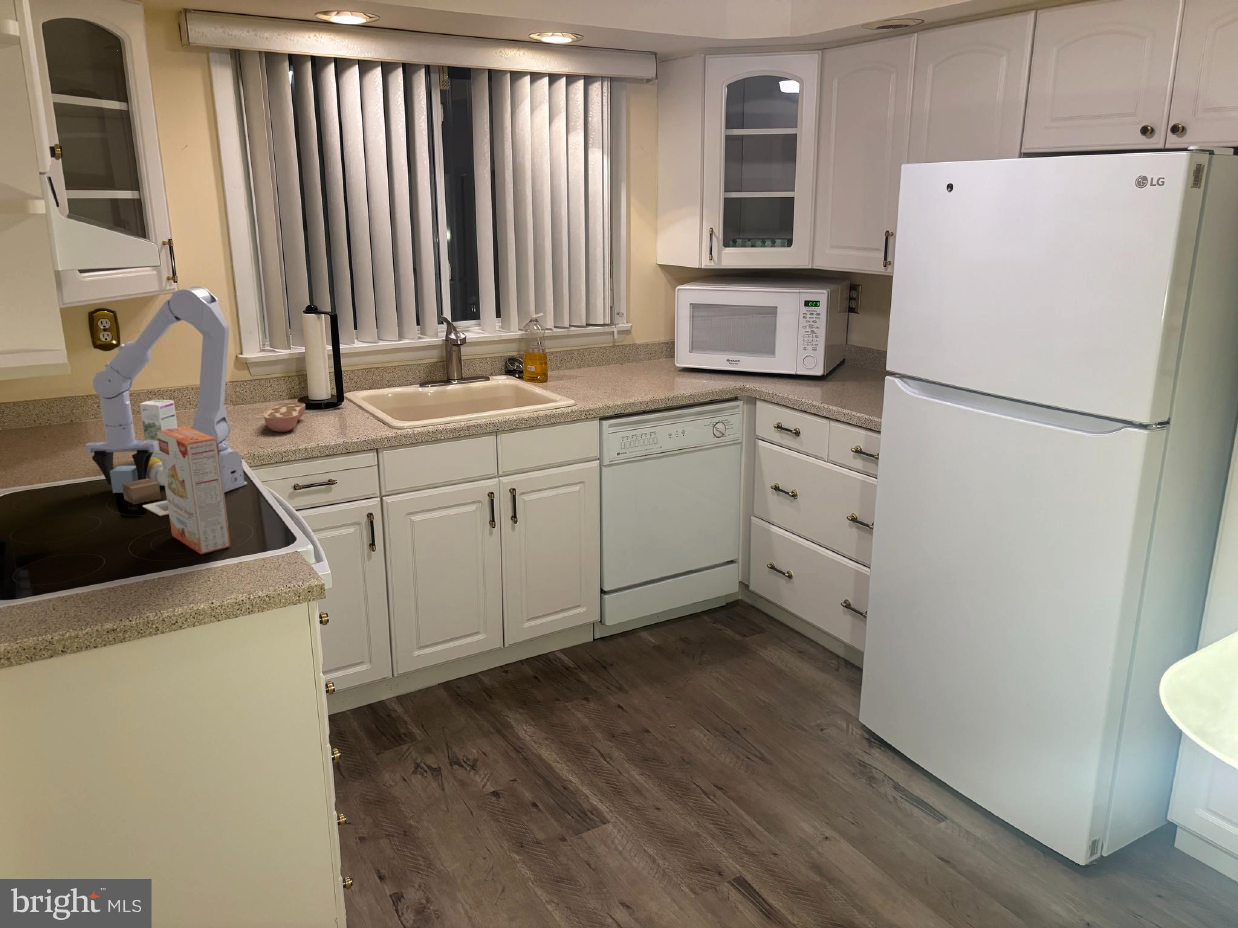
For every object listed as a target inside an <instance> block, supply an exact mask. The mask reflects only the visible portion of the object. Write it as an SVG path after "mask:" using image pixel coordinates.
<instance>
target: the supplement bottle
mask: <svg viewBox="0 0 1238 928" xmlns="http://www.w3.org/2000/svg"><path fill="white" fill-rule="evenodd" d="M148 478H149V479H151V480H153V481H155V482H158V483H159V487H165V483H164V476H163V468H162V461H161V460H160V459H158V458H153V457H152V458H151V459H150V461H149V465H148V468H147V474H146V479H148Z"/></svg>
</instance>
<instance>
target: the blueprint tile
mask: <svg viewBox="0 0 1238 928" xmlns="http://www.w3.org/2000/svg"><path fill="white" fill-rule="evenodd" d="M142 507H143V508H144V509H146V510H148V511H150V512H152V513H154V514H156V515H158V516H160V517H161V516H165V515H169V510H168V503H167V499H165V500H163V501H157V502H153V503H148V504H143V505H142Z"/></svg>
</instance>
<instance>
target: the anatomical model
mask: <svg viewBox="0 0 1238 928" xmlns="http://www.w3.org/2000/svg"><path fill="white" fill-rule="evenodd" d="M305 411H306V404H305V403H304V402H291V401H290V402H282V403H277V404H274V405H271V406H270V407H268V408H267V409H266V410H265V411H264V413H263V419H264V422H265V424H266V426H268V428H269V429H270V430H272V431H273V432H277V433H287V432H288V431H291V430H292V429H294V427H295V426H296V425H297V423H298V420H300V419H301V418H302V417H303V415H304V413H305Z"/></svg>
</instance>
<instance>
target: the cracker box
mask: <svg viewBox="0 0 1238 928" xmlns="http://www.w3.org/2000/svg"><path fill="white" fill-rule="evenodd" d="M157 434H158V441H159V448H160V455H161V461H162V468H163V476H164V483H165V485H164V489H165V495H166V500H167V503H168V510H169V514H168V516H169V523H170V528H171V529H170V530H171V535H172V536H171V537H173V538H175V539H176V540H178V541H180V542H181V543H183V544H184V545H185V546H187V547H189V548H190V549H191V550H194V551H195V552H196V553H198V554H199V555H204V554H209V553H212V552H215V551H220V550H223V549H226V548H230V547H231V545H232V544H231V539H230V531H229V522H228V514H227V507H226V499H225V492H224V490H223V482H222V474H221V465H220V457H219V449H218V441H217V439H216V438H213V437H211V436H208V435H206V434H204V433H201V432H199V431H197V430H194V429H192V428H191V427H189V426H181V427H177V428H174V429H166V430H161V431H158V432H157Z"/></svg>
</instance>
